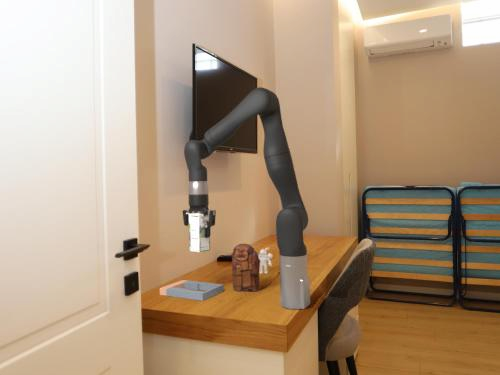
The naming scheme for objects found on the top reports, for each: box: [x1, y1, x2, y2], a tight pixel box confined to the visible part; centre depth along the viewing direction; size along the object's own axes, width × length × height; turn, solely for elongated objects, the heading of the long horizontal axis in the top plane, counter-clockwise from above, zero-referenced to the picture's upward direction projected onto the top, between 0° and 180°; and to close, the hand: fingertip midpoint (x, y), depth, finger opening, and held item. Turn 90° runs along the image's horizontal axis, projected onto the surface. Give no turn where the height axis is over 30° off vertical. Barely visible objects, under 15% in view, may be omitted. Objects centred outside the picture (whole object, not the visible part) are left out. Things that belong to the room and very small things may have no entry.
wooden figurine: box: [231, 243, 260, 292], centre depth 155 cm, size 12×6×18 cm, turn 73°
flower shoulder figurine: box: [258, 247, 274, 275], centre depth 182 cm, size 9×4×12 cm, turn 74°
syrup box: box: [188, 213, 211, 253], centre depth 149 cm, size 6×6×14 cm
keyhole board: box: [159, 279, 224, 302], centre depth 152 cm, size 20×14×2 cm
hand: (199, 237), depth 150 cm, fingers closed on syrup box, 6 cm apart
